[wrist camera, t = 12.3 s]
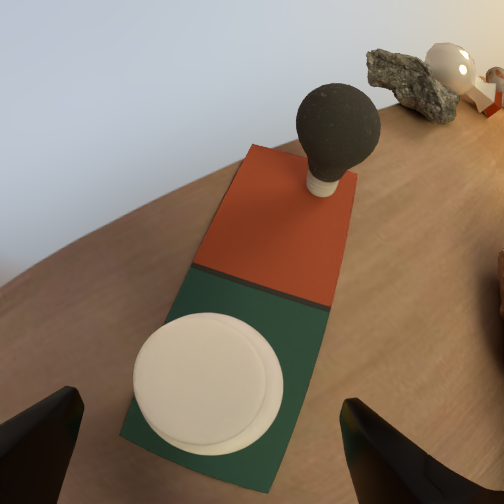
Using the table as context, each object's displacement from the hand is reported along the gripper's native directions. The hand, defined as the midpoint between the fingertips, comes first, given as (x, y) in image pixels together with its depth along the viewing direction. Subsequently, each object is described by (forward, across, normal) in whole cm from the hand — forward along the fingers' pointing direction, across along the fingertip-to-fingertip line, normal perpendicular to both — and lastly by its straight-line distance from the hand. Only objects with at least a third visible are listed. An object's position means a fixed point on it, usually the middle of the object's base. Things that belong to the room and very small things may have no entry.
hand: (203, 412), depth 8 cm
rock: (+29, -25, -24) cm, 45 cm away
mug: (+40, -55, -27) cm, 74 cm away
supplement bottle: (+7, 0, +6) cm, 9 cm away
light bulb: (+18, -7, -5) cm, 20 cm away
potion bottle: (+33, -29, -28) cm, 52 cm away
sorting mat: (+12, -2, +1) cm, 12 cm away
